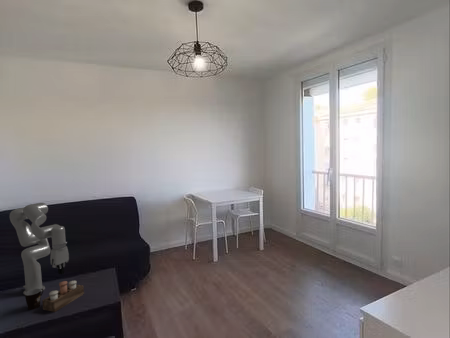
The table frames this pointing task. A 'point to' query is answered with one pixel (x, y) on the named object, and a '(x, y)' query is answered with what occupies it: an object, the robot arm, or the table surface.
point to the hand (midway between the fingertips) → (61, 273)
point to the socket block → (63, 299)
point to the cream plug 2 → (72, 284)
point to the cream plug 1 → (53, 295)
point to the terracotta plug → (63, 287)
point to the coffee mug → (33, 298)
